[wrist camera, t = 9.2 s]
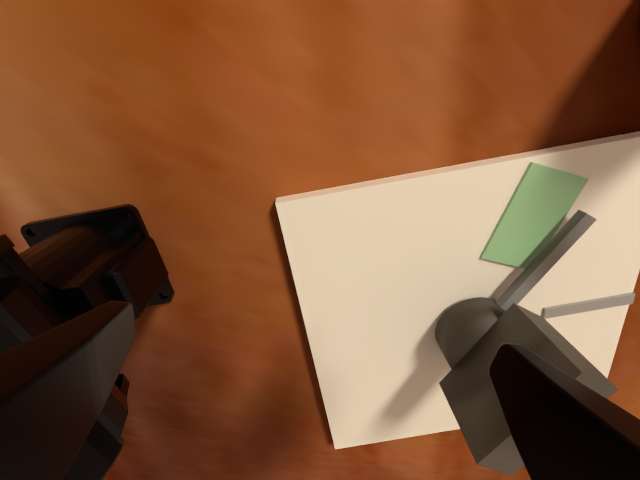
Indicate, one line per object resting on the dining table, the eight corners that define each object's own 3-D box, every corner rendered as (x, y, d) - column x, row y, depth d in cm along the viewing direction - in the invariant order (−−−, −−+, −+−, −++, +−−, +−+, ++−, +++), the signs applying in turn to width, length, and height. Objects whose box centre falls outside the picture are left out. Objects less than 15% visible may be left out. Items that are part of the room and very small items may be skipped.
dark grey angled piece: (467, 373, 24) (529, 481, 17) (412, 351, 23) (457, 458, 16) (606, 228, 19) (761, 300, 13) (547, 190, 18) (685, 249, 12)
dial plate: (334, 437, 28) (335, 451, 27) (276, 197, 19) (274, 204, 18) (589, 395, 28) (601, 408, 27) (662, 127, 18) (685, 129, 17)
